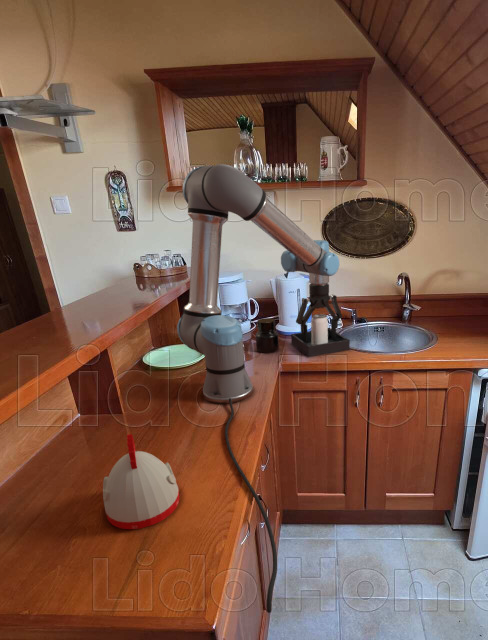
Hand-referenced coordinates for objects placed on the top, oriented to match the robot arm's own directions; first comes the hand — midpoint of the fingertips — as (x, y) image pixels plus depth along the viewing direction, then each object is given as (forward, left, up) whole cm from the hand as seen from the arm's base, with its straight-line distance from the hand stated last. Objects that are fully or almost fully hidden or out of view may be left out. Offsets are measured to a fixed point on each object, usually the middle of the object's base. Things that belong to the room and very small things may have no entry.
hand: (319, 338), depth 168 cm
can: (0, 0, -3) cm, 3 cm away
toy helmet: (-71, +72, -4) cm, 101 cm away
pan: (0, 0, -4) cm, 4 cm away
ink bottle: (+6, +20, -4) cm, 21 cm away
